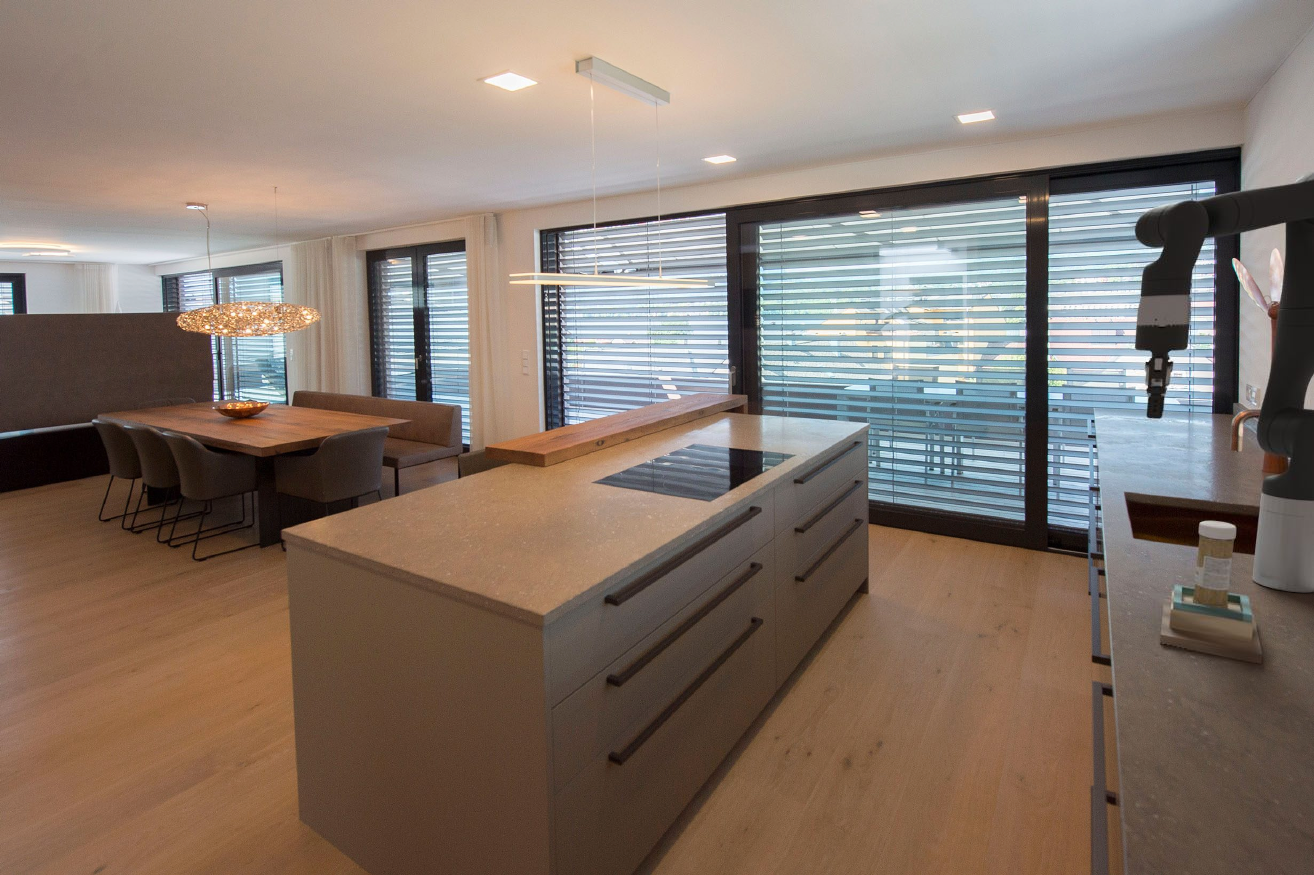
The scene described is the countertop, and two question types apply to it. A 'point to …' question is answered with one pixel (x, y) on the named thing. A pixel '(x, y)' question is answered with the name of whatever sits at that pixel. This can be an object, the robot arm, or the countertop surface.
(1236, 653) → the build board
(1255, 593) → the countertop surface
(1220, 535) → the sprinkles bottle
